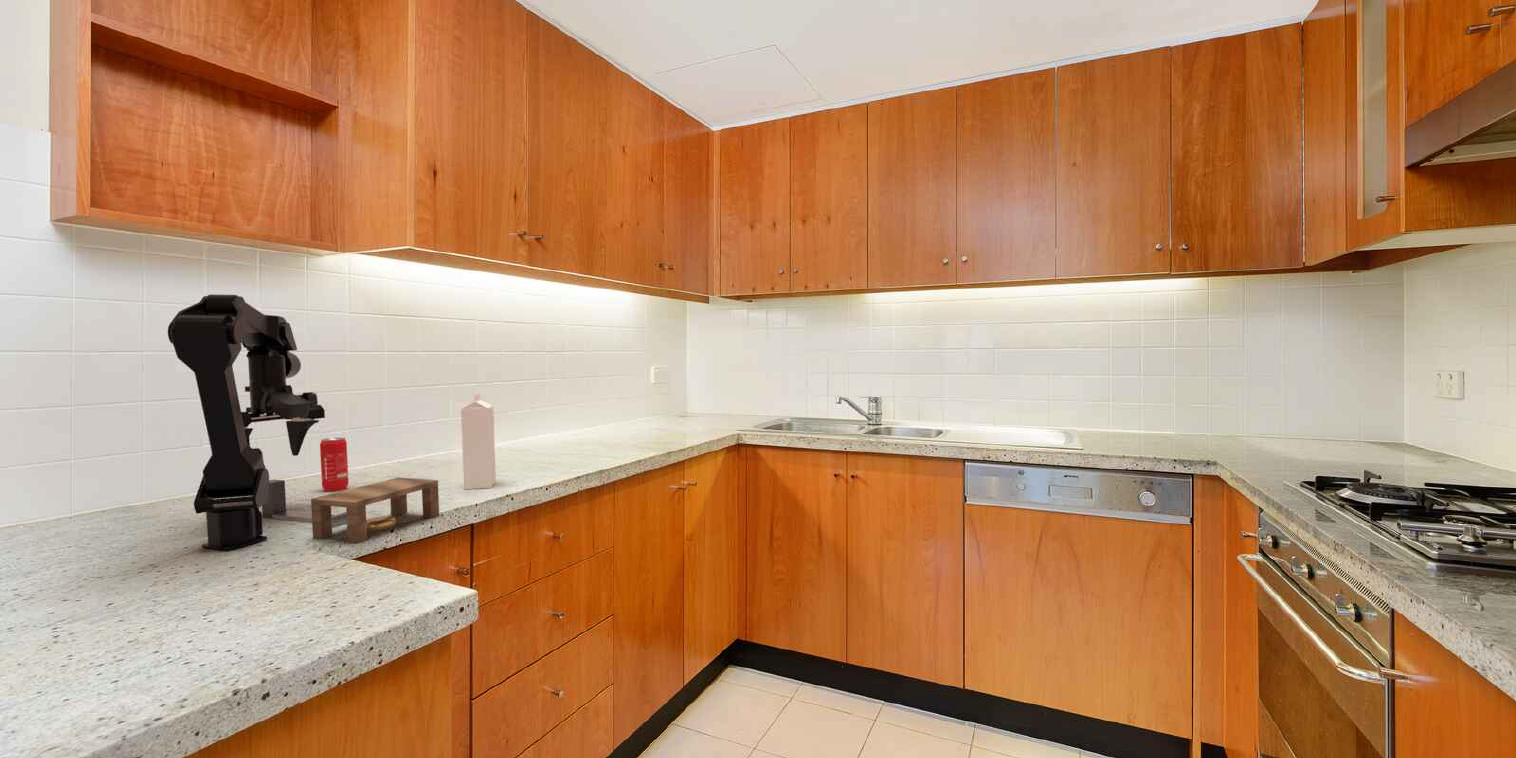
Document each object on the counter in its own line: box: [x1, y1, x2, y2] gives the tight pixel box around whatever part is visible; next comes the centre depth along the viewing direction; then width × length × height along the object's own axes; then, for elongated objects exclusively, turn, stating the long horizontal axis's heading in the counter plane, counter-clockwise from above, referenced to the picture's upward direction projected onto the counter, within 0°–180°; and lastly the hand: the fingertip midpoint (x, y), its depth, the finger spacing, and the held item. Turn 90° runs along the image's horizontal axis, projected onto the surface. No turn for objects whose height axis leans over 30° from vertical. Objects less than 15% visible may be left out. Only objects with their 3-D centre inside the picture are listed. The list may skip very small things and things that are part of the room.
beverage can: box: [319, 437, 349, 493], centre depth 148 cm, size 5×5×12 cm
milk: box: [460, 393, 497, 490], centre depth 149 cm, size 6×6×22 cm
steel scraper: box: [261, 479, 347, 528], centre depth 122 cm, size 6×20×7 cm, turn 73°
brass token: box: [366, 515, 396, 531], centre depth 117 cm, size 5×5×2 cm
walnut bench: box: [310, 477, 440, 544], centre depth 117 cm, size 18×10×7 cm, turn 163°
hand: (272, 459), depth 124 cm, fingers open, 9 cm apart
